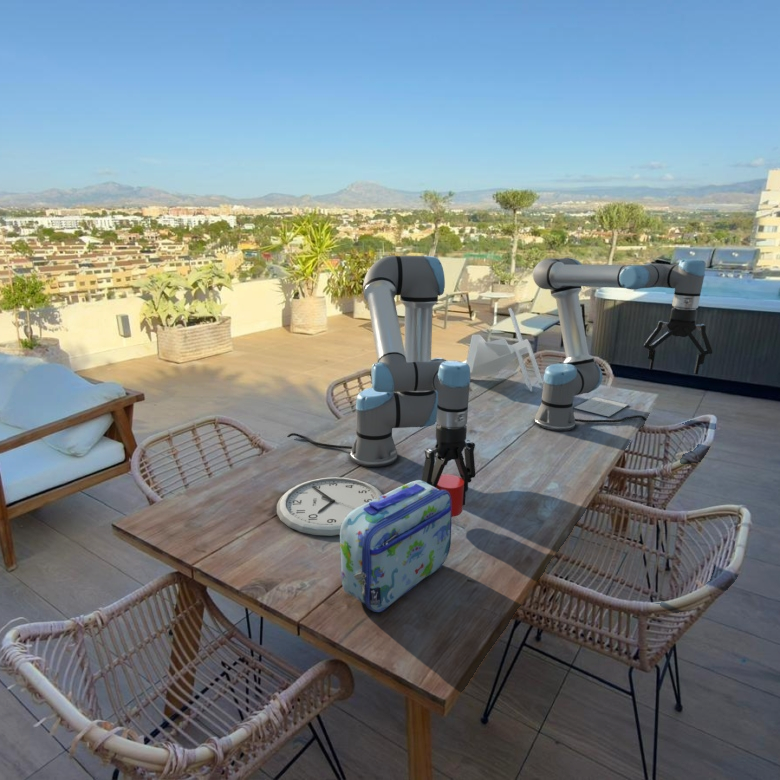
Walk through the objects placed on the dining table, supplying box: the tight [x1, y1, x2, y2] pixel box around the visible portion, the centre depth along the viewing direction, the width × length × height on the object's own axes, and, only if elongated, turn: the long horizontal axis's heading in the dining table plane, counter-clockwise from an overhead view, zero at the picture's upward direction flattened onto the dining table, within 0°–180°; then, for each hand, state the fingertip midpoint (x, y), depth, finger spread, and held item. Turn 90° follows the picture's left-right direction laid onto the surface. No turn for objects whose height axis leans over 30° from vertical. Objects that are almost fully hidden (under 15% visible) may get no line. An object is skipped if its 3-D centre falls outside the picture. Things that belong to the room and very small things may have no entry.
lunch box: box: [339, 479, 452, 613], centre depth 109 cm, size 26×11×21 cm, turn 134°
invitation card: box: [573, 396, 629, 418], centre depth 226 cm, size 21×1×15 cm
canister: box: [436, 474, 464, 518], centre depth 135 cm, size 8×8×8 cm
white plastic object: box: [462, 307, 544, 393], centre depth 256 cm, size 37×45×31 cm
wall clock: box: [276, 476, 385, 537], centre depth 142 cm, size 30×2×30 cm
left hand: (447, 506), depth 136 cm, fingers closed on canister, 8 cm apart
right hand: (673, 371), depth 177 cm, fingers open, 13 cm apart
